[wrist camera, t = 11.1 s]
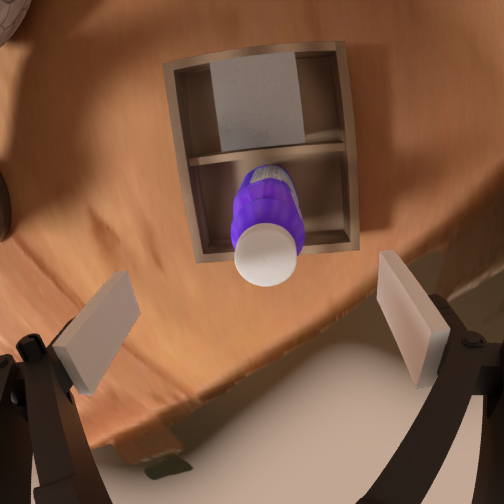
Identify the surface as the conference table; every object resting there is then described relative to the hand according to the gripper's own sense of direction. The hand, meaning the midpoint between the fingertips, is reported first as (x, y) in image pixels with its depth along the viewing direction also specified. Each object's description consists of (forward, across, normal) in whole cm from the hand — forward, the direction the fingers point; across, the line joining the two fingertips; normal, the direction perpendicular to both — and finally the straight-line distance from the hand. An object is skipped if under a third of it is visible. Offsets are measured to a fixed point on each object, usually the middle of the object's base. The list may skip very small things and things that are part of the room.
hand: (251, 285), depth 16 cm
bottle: (+22, +1, -1) cm, 22 cm away
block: (+22, +1, +10) cm, 24 cm away
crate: (+23, +1, +4) cm, 23 cm away
